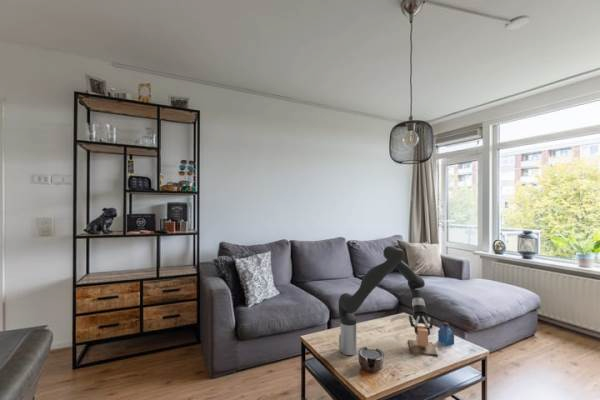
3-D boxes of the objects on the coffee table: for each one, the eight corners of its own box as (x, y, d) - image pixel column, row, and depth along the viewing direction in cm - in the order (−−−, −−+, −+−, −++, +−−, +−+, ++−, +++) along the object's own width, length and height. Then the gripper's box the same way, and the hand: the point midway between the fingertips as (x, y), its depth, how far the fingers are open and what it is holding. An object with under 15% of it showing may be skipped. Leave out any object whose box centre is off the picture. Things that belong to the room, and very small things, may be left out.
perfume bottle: (445, 339, 177) (445, 320, 177) (454, 343, 172) (454, 324, 172) (438, 340, 175) (438, 321, 175) (446, 345, 169) (446, 325, 169)
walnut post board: (411, 353, 161) (411, 340, 161) (408, 341, 175) (408, 330, 175) (437, 356, 158) (437, 343, 158) (432, 343, 171) (432, 332, 171)
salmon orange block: (418, 345, 164) (417, 330, 164) (416, 340, 170) (416, 325, 170) (428, 346, 163) (428, 331, 163) (426, 341, 168) (426, 326, 168)
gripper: (407, 303, 175) (410, 330, 164) (432, 305, 172) (436, 333, 160) (406, 308, 180) (409, 335, 169) (430, 310, 177) (434, 338, 165)
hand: (422, 334), depth 165 cm, fingers closed on salmon orange block, 5 cm apart
